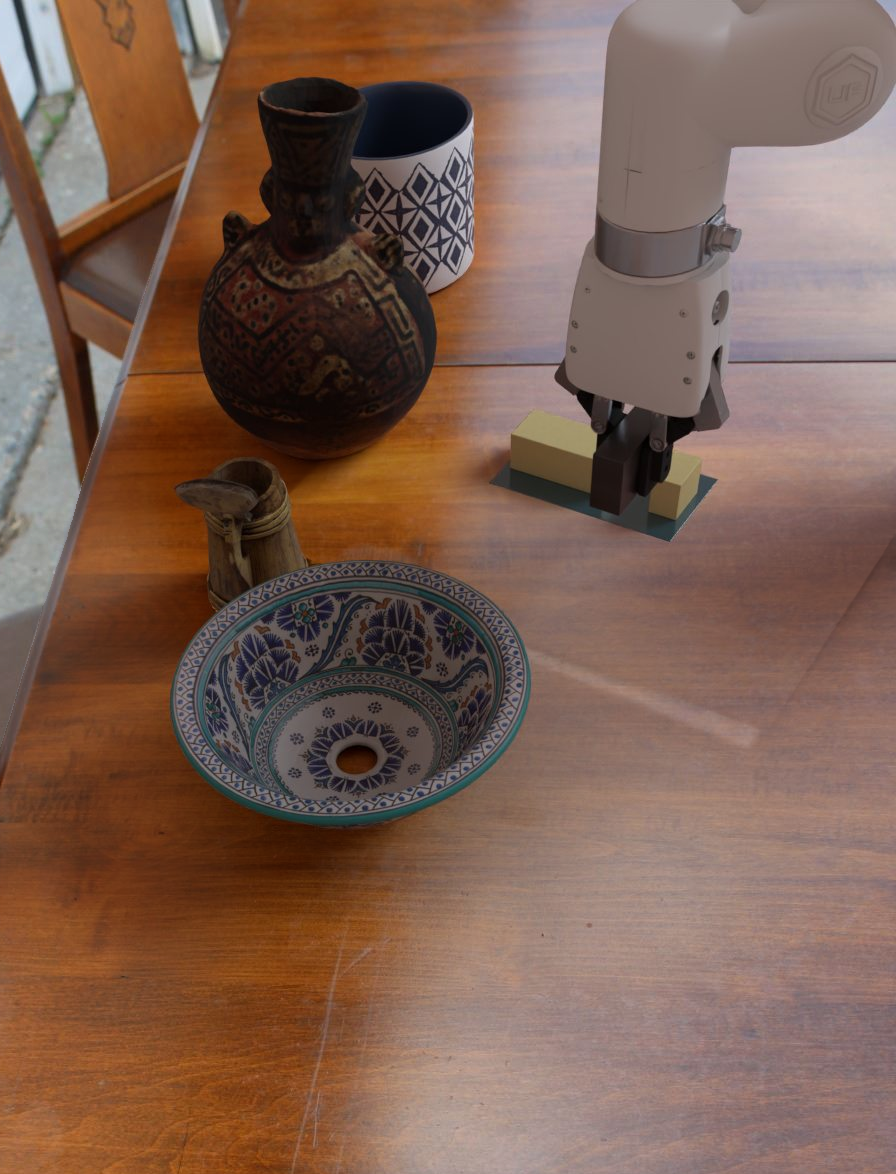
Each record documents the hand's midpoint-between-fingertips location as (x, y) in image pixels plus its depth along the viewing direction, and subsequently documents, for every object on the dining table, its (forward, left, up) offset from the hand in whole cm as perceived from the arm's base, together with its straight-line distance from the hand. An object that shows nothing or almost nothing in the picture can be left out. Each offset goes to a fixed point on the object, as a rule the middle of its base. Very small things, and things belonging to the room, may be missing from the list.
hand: (631, 477), depth 97 cm
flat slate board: (-9, -11, -12) cm, 19 cm away
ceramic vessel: (+4, -34, -12) cm, 37 cm away
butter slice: (-11, -5, -11) cm, 16 cm away
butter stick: (-7, -15, -11) cm, 20 cm away
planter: (-19, -53, -12) cm, 58 cm away
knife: (-5, -2, 0) cm, 5 cm away
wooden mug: (+22, -19, -12) cm, 32 cm away
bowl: (+26, +1, -12) cm, 29 cm away
